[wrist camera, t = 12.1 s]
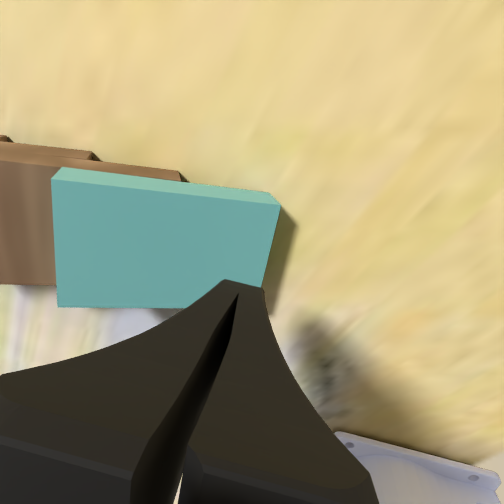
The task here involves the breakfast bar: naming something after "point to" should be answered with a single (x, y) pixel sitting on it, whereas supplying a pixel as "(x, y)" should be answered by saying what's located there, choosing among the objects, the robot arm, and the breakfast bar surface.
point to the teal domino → (154, 239)
